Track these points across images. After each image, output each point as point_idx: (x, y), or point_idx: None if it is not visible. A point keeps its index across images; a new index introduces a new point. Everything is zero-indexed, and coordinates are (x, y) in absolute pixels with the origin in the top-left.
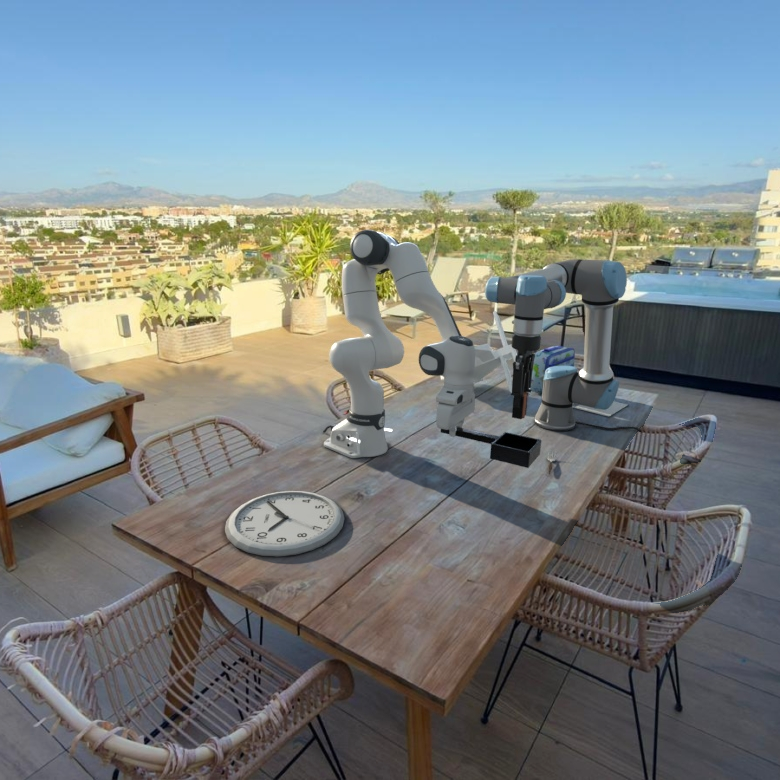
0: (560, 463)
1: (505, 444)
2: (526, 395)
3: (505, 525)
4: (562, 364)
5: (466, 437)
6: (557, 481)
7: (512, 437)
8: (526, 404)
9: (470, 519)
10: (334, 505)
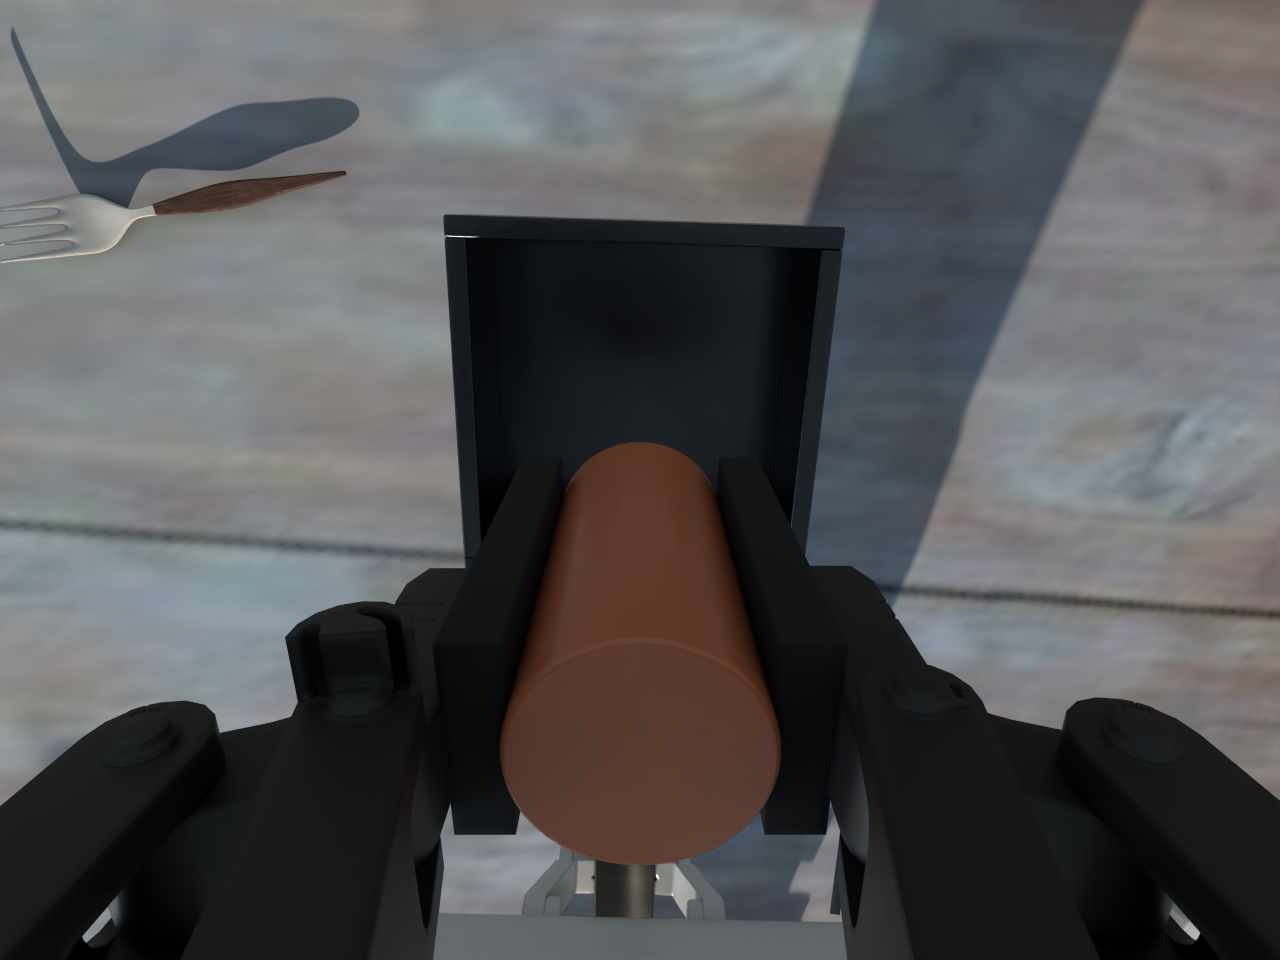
0: (98, 150)
1: None
2: (651, 622)
3: (1084, 237)
4: None
5: None
6: (390, 98)
7: (486, 486)
8: (520, 523)
9: (1086, 417)
10: None
